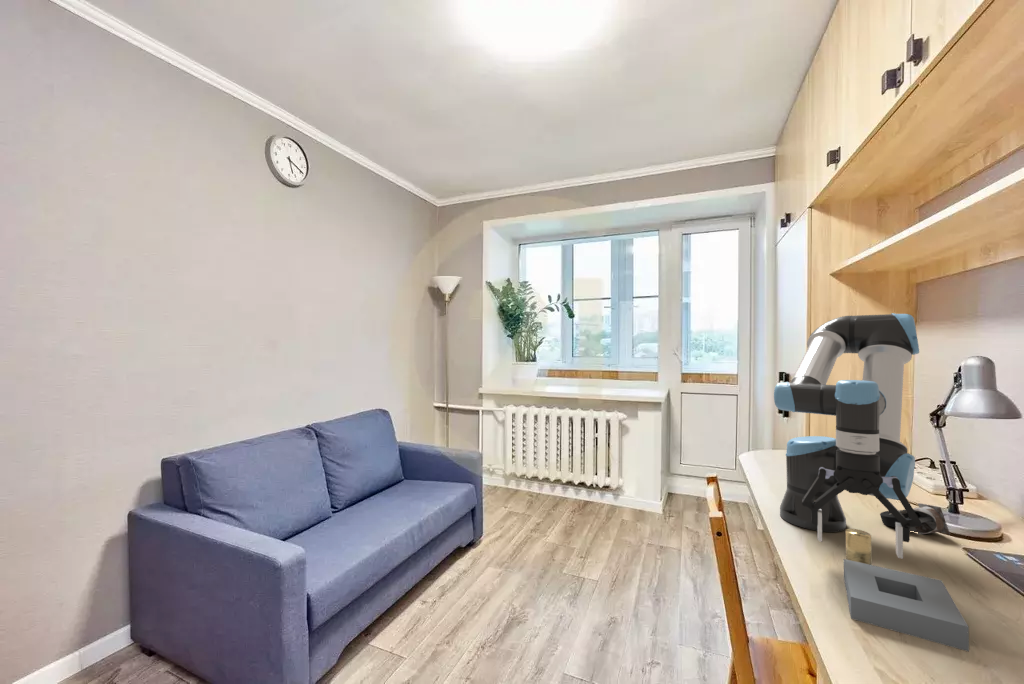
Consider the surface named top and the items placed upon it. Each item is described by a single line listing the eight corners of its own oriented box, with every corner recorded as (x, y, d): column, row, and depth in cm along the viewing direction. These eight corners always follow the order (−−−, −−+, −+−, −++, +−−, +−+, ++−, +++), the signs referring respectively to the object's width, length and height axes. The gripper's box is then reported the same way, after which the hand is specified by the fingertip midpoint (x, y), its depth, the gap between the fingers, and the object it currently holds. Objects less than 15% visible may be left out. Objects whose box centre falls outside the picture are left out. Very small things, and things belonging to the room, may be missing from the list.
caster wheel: (877, 530, 118) (914, 525, 118) (912, 540, 107) (952, 534, 107) (869, 505, 120) (905, 499, 119) (903, 512, 109) (942, 506, 108)
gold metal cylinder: (845, 561, 97) (844, 526, 97) (870, 567, 94) (869, 531, 94) (846, 570, 93) (846, 534, 93) (872, 576, 91) (872, 539, 91)
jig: (843, 577, 91) (843, 558, 91) (941, 601, 82) (941, 580, 82) (850, 618, 77) (850, 596, 77) (968, 651, 69) (968, 626, 69)
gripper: (789, 446, 98) (789, 538, 97) (940, 463, 84) (941, 571, 83) (790, 440, 104) (790, 527, 104) (930, 455, 90) (931, 555, 90)
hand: (857, 547), depth 94 cm, fingers open, 13 cm apart
